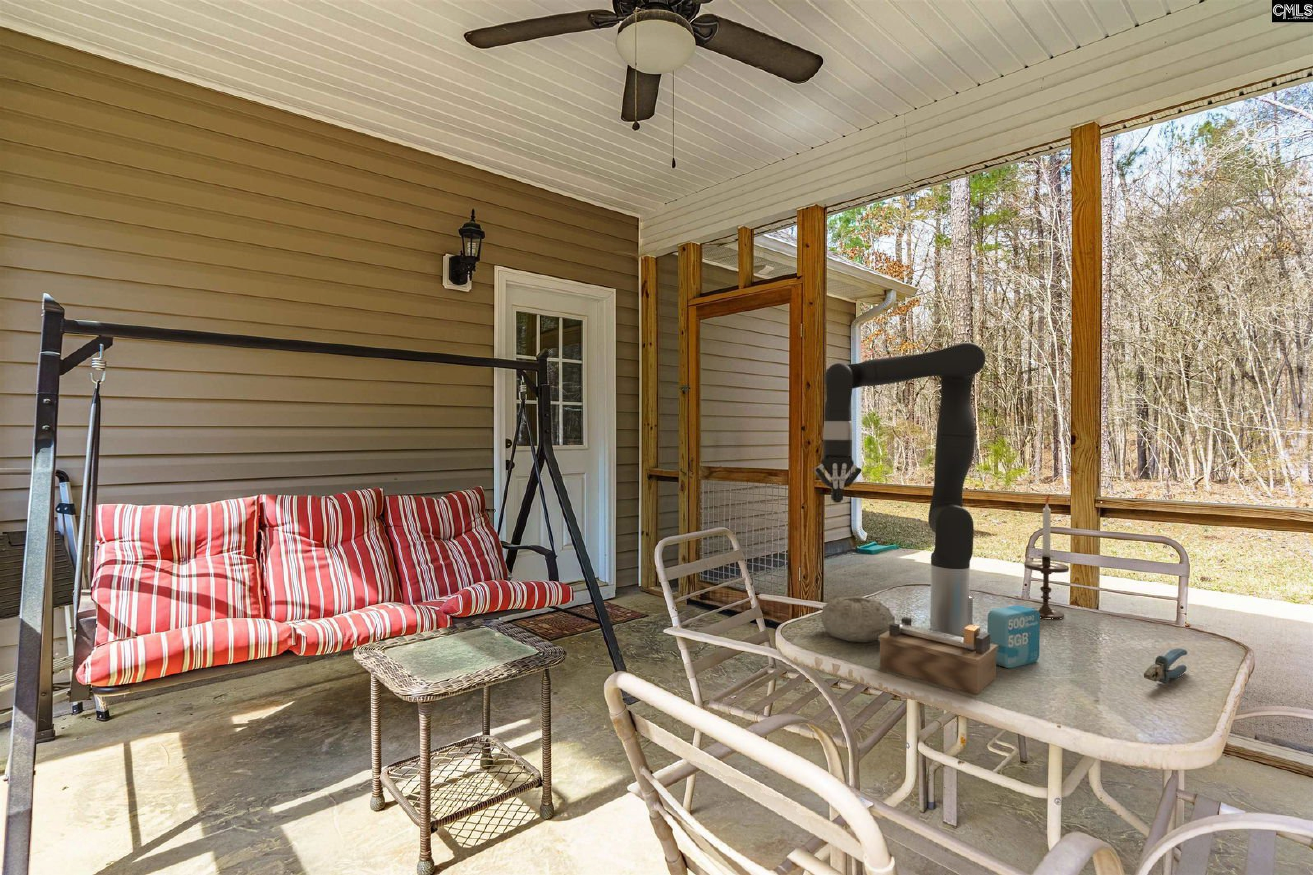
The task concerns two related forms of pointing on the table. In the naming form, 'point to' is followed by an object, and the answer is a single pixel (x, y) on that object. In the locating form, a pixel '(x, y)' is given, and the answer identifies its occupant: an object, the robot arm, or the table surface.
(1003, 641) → the data package
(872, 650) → the table surface
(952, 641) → the latch bar
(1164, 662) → the pliers
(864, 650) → the table surface
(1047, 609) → the candlestick
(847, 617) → the grey rounded stone lump
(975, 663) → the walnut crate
